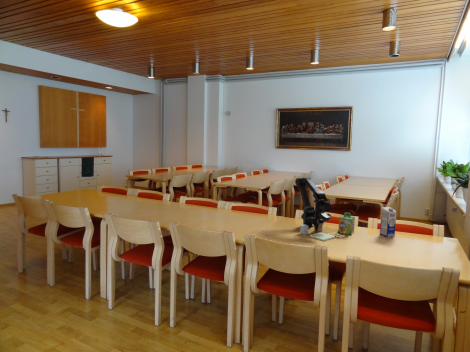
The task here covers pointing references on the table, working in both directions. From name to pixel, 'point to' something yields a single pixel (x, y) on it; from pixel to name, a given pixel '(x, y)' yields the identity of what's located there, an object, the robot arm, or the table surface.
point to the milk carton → (388, 222)
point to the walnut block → (319, 227)
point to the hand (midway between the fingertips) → (318, 229)
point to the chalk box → (346, 224)
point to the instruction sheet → (339, 235)
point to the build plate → (322, 236)
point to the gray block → (304, 229)
